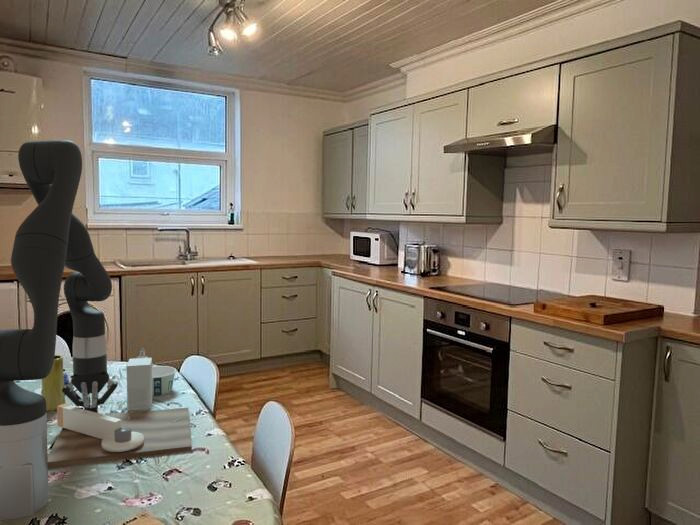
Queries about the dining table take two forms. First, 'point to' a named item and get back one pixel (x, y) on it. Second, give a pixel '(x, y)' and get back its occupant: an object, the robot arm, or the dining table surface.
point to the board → (157, 427)
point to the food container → (162, 379)
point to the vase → (54, 385)
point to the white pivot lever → (99, 428)
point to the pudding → (66, 380)
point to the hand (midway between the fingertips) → (91, 420)
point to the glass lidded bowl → (143, 355)
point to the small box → (139, 384)
